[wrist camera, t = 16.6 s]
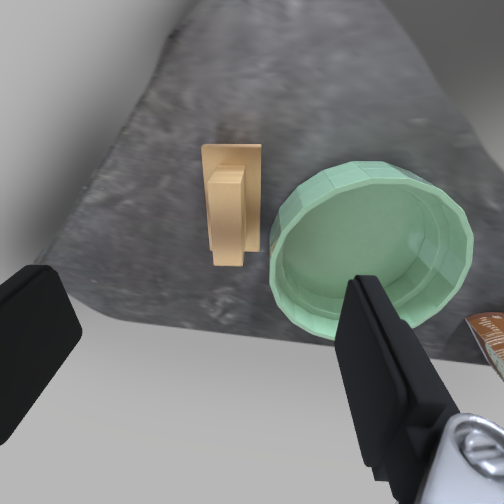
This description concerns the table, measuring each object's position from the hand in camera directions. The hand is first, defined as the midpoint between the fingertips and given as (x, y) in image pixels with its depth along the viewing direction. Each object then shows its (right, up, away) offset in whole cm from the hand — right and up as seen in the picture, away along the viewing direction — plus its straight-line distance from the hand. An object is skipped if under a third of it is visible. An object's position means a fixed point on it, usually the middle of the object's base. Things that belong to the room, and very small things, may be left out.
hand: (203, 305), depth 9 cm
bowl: (+12, +3, +21) cm, 24 cm away
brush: (0, +7, +19) cm, 20 cm away
